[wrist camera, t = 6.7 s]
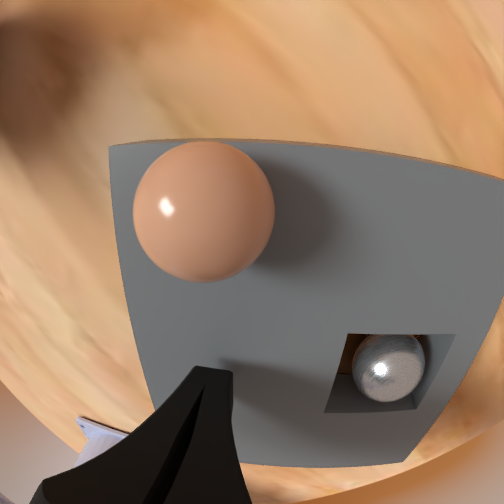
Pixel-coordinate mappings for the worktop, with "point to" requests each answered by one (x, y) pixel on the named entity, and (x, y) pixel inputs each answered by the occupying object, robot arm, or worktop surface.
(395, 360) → the steel ball
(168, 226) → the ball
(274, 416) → the plate
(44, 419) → the worktop surface
